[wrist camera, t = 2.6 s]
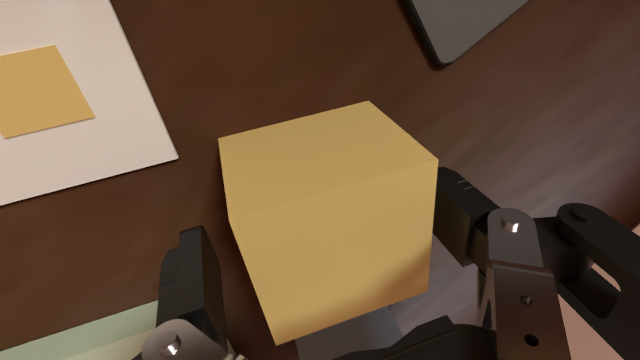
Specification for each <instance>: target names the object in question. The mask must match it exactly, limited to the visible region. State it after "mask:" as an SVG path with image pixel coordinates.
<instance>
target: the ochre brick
mask: <svg viewBox="0 0 640 360" xmlns="http://www.w3.org/2000/svg"><path fill="white" fill-rule="evenodd" d="M218 143H219V150H220V158H221V165H222V173H223V180H224V188H225V195H226V202H227V210H228V217H229V222H230V225H231V228H232V230H233V233H234V236H235V238H236V241H237V244H238V246H239V249H240V252H241V254H242V257H243V259H244V262H245V265H246V267H247V270H248V273H249V275H250V278H251V281H252V283H253V286H254V289H255V291H256V294H257V297H258V299H259V302H260V305H261V307H262V310H263V313H264V315H265V318H266V321H267V323H268V326H269V328H270V331H271V334H272V336H273V339H274V342H275V344H276V346H277V345H280V344H283V343H285V342H288V341H291V340H294V339H297V338H299V337H302V336H305V335H308V334H310V333H313V332H316V331H319V330H321V329H324V328H327V327H330V326H332V325H335V324H338V323H341V322H343V321H346V320H349V319H352V318H354V317H357V316H360V315H363V314H365V313H368V312H371V311H374V310H377V309H379V308H382V307H385V306H388V305H390V304H393V303H396V302H399V301H401V300H404V299H407V298H410V297H412V296H415V295H418V294H421V293H423V292H426V291H428V279H429V267H430V255H431V243H432V231H433V219H434V207H435V195H436V183H437V171H438V159H437V158H436V157H435V156H433V155H432V154H431V153H430V152H429V151H428V150H426V149H425V148H424V147H423V146H422V145H420V144H419V143H418V142H417V141H416V140H415V139H413V138H412V137H411V136H410V135H409V134H407V133H406V132H405V131H404V130H403V129H402V128H400V127H399V126H398V125H397V124H396V123H394V122H393V121H392V120H391V119H390V118H389V117H387V116H386V115H385V114H384V113H383V112H381V111H380V110H379V109H378V108H377V107H376V106H374V105H373V104H372V103H371V102H370V101H366V102H362V103H358V104H354V105H350V106H346V107H342V108H338V109H334V110H330V111H326V112H322V113H318V114H314V115H310V116H306V117H302V118H298V119H294V120H290V121H286V122H282V123H278V124H274V125H270V126H266V127H262V128H258V129H254V130H250V131H246V132H242V133H238V134H234V135H230V136H226V137H222V138H218Z"/></svg>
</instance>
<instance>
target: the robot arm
mask: <svg viewBox="0 0 640 360" xmlns="http://www.w3.org/2000/svg"><path fill="white" fill-rule="evenodd" d="M432 232H433V234H434V235H435V236H436V237H437V238H438V239H439V241H440V242H441V243H442V244H443V245H444V246H445V247H446V249H447V250H448V251H449V252H450V253H451V254H452V255H453V257H454V258H455V259H456V260H457V261H458V262H459V263H460V265H461V266H462V267H464V266H467V265H470V264H472V263H475V264H476V265H477V267H478V270H477V323H476V326H475V325H468V324H453V323H452V322H451V320H450V319H449V317H448V316H447V315H445V316H442V317H440V318H437V319H435V320H432V321H429V322H427V323H424V324H422V325H419V326H417V327H415V328H414V329H413V330H412V331H410V332H409V333H408V334H406V335H405V336H404V337H402V338H401V339H400V340H399V341H397V342H396V343H395V344H393V345H392V346H390V347H388V348H381V349H372V350H363V351H354V352H350V353H348V354H345V355H343V356H340V357H337V358H335V359H332V360H571V356H570V351H569V346H568V342H567V337H566V332H565V327H564V323H563V319H562V313H561V309H560V304H559V299H558V294H559V295H560V296H561V297H562V298H563V299H564V300H565V301H566V302H567V303H568V304H569V305H570V306H571V307H572V308H573V309H574V310H575V311H576V312H577V313H578V314H579V315H580V316H581V317H582V318H583V319H584V320H585V321H586V322H587V323H588V324H589V325H590V326H591V327H592V328H593V329H594V330H595V331H596V332H597V333H598V334H599V335H600V336H601V337H602V338H603V339H604V340H605V341H606V342H607V343H608V344H609V345H610V346H611V347H612V348H613V349H614V350H615V351H616V352H617V353H618V354H619V355H620V356H621V357H622V358H623V359H624V360H640V236H638V235H637V234H635V233H634V232H632V231H631V230H629V229H628V228H626V227H625V226H623V225H622V224H620V223H619V222H618V221H616V220H615V219H613V218H612V217H610V216H609V215H607V214H606V213H604V212H603V211H601V210H599V209H597V208H595V207H593V206H590V205H586V204H581V203H569V204H565V205H563V206H561V207H560V208H559V210H558V212H557V215H556V217H545V218H531V217H530V216H529V215H528V214H526V213H524V212H522V211H520V210H517V209H512V208H500V207H499V206H497V205H496V204H495V203H494V202H492V201H491V200H490V199H489V198H488V197H486V196H485V195H484V194H483V193H481V192H480V191H479V190H478V189H477V188H475V187H473V185H472V184H470V183H469V182H468V181H466V180H465V179H464V178H463V177H462V176H461V175H459V174H458V173H457V172H455V171H453V170H450V169H448V168H445V167H441V168H439V167H438V171H437V183H436V195H435V207H434V219H433V231H432ZM593 262H594V263H596V264H597V265H598V266H599V267H601V268H602V269H603V270H604V271H605V272H607V273H608V274H609V275H610V276H611V277H613V278H614V279H615V280H616V282H617V283H618V285H619V287H620V289H621V292H620V291H618V290H617V289H616V288H615V287H614V286H613V285H612V284H610V283H609V282H608V281H607V280H605V279H604V278H603V277H602V276H601V275H600V274H598V273H597V272H596V271H595V270H594V269H593V268H591V266H592V264H593ZM159 286H160V288H159V296H158V307H157V318H156V327H155V329H154V330H153V331H152V332H151V333H150V335H149V336H148V337H147V339H146V340H145V342H144V345H143V347H142V351H141V352H140V353H139V354H138V355H137V356H135V357H134V358H133V359H131V360H248V359H247V358H245V357H244V356H242V355H240V354H236V355H235V356H233V355H232V354H230V353H229V352H228V345H227V335H226V325H225V314H224V304H223V293H222V283H221V273H220V266H219V262H218V259H217V256H216V253H215V251H214V249H213V247H212V244H211V242H210V240H209V238H208V235H207V233H206V231H205V229H204V227H203V226H202V225H200V226H197V227H194V228H190V229H187V230H184V231H181V232H180V246H179V247H177V248H174V249H171V250H169V251H168V252H167V254H166V256H165V258H164V260H163V261H162V264H161V278H160V285H159ZM557 293H558V294H557Z"/></svg>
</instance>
